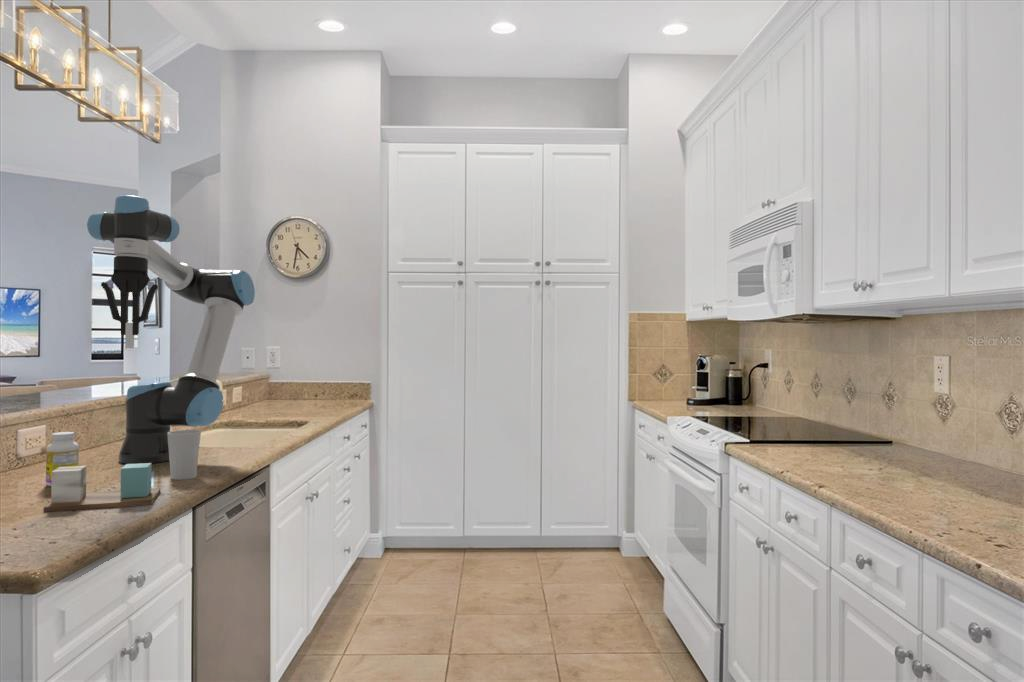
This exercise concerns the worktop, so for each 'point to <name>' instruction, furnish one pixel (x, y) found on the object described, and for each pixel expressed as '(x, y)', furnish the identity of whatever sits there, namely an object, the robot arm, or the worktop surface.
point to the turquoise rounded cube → (136, 480)
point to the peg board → (73, 496)
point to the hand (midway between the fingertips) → (129, 348)
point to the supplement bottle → (61, 453)
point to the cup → (183, 453)
